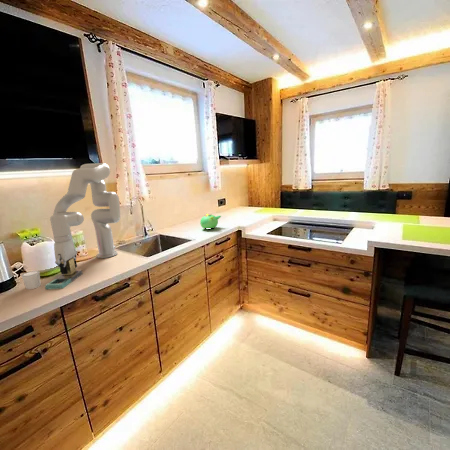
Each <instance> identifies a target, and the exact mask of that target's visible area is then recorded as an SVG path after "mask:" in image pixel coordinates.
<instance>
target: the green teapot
mask: <svg viewBox="0 0 450 450" xmlns="http://www.w3.org/2000/svg"><path fill="white" fill-rule="evenodd" d="M221 217H222V215H217V216H215V215H214V214H209V213H206V214H205V215H204V216H202V217H201V219H200V222H199V223H200V226H201V227H202V228H203V229H204V228H214V227H215V228H217V226H218V224H219V219H221ZM215 228H214V229H215Z"/></svg>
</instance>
